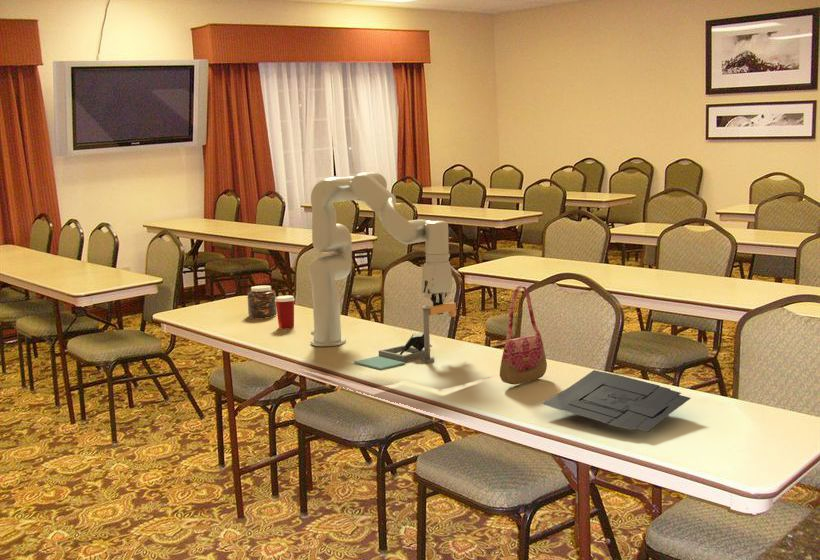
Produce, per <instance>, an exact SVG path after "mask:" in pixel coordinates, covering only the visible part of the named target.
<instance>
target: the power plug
mask: <svg viewBox="0 0 820 560" xmlns="http://www.w3.org/2000/svg"><path fill="white" fill-rule="evenodd" d="M410 347H414V348H416V349H417V350H419V351H421V350H422V349H424V331H423V332H419V333H416V332H415V333H413V334H412V335H411V337H410V338H409V339H408V341H406V343H405V345H404V348H403V350H402V351H400V353H399V354H400V355H403V354H404V353H406V352H408V351H407V350H408V349H409V348H410ZM431 348H433V345H432V344H431V343H430V352H431V351H432V349H431Z"/></svg>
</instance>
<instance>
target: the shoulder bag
mask: <svg viewBox="0 0 820 560" xmlns="http://www.w3.org/2000/svg"><path fill="white" fill-rule="evenodd" d="M521 288H522V289H523V290H524V294H525V298H526V303H527V307H528V308H527V309H528V311H529V312H528V313H529V317H530V323H531V327H532V328H533V330H534V331H535V334H528V335H524V336H520V337H515V338H512V332H513V323H514V312H515V306H516V300H517V296H518V293H519V291H520V290H521ZM533 310H534V309H533V305H532V300H531V296H530V292H529V290H528V288H527V287H526V286H521V285H518V286H517V287H516V288H515V290H514V292H513V295H512V297H511V300H510V306H509V316H508V326H507V327H508V328H507V333H506V339H505V343H504V348H503V351H502V356H501V362H500V369H499V377H500V378H499V379H501V381H502V382H503V383H505V384H509V385H521V384H524V383H529V382H532V381H536V380H539V379H540V378H543V376H544V375H545V373H546V371H547V367H548V363H547V357H546V353H545V349H544V343H543V340H542V335H541V332H540V331H539V329H538V326H537V325H536V320H535V315H534V312H533Z"/></svg>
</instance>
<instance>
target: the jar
mask: <svg viewBox="0 0 820 560" xmlns="http://www.w3.org/2000/svg"><path fill="white" fill-rule="evenodd" d="M276 297H277V296H276V291H275V290H272V286H271V285H255V286H251V287H250V291H248V292H247V310H248V311H247V312H248V313H247V314H248V318H249V317H252V318H251V319H254V318H263V319H266V318H265V317H270V318H272V317H271V316H274V315H276V314H277V307H276V301H275V300H276ZM276 316H277V315H276ZM274 317H275V316H274Z"/></svg>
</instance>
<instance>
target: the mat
mask: <svg viewBox="0 0 820 560" xmlns="http://www.w3.org/2000/svg"><path fill="white" fill-rule="evenodd" d="M353 363H354V364H356V365H359V366H364V367H366V368H371V369H374V370H379V371H383V370H387V369H388V370H389V369H392V368H395V367H400V366H403V365H406V362H401V361H396V360H392V359H389V358H385V357H381V356H379V355H377V356H373V357H369V358H364V359H359V360H355V361H353Z"/></svg>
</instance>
